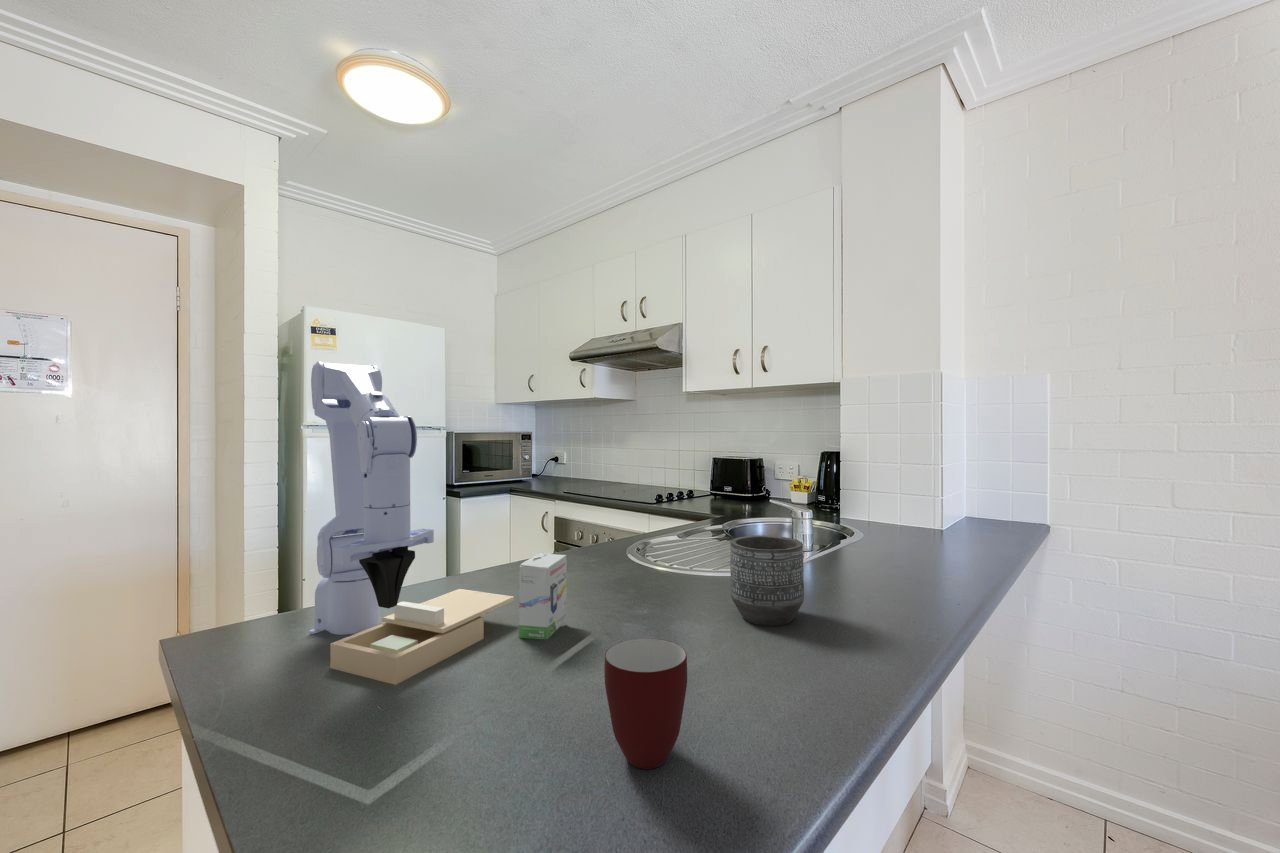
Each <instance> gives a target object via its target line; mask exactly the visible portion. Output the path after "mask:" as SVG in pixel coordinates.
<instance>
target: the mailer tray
mask: <svg viewBox="0 0 1280 853" xmlns="http://www.w3.org/2000/svg"><path fill="white" fill-rule="evenodd" d="M484 627H485V626H484V616H479V617H477V618H475V619H473V620H470V621H468V622H466V623H464V624H462V625H460V626H457V627H455V628H453V629H451V630H449V631H447V632H445V633H438V632H433V631H428V630H423V629H417V628H412V627H407V626H402V625H397V624H392V623H386V622H383V623H379V624H378V625H377V626H374V627H372V628H369V629H367V630H364V631H361V632H359V633H354V634H350V635H349V636H346V637H344V638H341V639H338V640H336V641H334V642H331V643H330V644H329V645H330V650H329V651H330V655H329V656H330V658H329V659H330V666H329V667H330V669H333V670H336V671H341V672H343V673H349V674H352V675H355V676H360V677H364V678H368V679H371V680H375V681H379V682H383V683H387V684H391V685H395V686H397V685H399V684H400V683H402V682H404V681H407V680H408V679H410V678H411V677H412V678H413V677H414V676H417V674H419V673H422V672H423V671H425V670H426V669H429V668H431V667H433V666H435V665H436V664H439V663H440V662H442V661H444V660H446V659H447V658H450V657H451V656H453V655H456V654H457V653H459V652H461V651H463V650H465V649H466V648H468V647H471V646H472V645H474V644H476V643H478V642H480V641H482V640H484V637H485V636H484V635H485V634H484ZM390 635H395V636H399V637H404V638H409V639H414V640H418V644H417V645H415V646H413V647H411V648H409V649H406V650H404V651H402V652H400V653H398V654H394V653H389V652H385V651H380V650H376V649H371V648H370V644H371V643H374V642H376V641H379V640H381V639H383V638H386V637H388V636H390Z"/></svg>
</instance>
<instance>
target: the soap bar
mask: <svg viewBox="0 0 1280 853" xmlns="http://www.w3.org/2000/svg"><path fill="white" fill-rule="evenodd" d="M417 644H418V640H414V639H409V638H404V637H399V636H395V635H390V636H388V637H386V638H383V639H381V640H379V641H376V642H374V643H371V644H370V648H371V649H376V650H380V651H385V652H389V653H394V654H398V653H400V652H402V651H404V650H406V649H409V648H411V647H413V646H415V645H417Z"/></svg>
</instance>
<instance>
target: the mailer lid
mask: <svg viewBox="0 0 1280 853" xmlns="http://www.w3.org/2000/svg"><path fill="white" fill-rule="evenodd" d="M513 601H515V596H512V595H507V594H500V593H499V594H498V593H491V592H485V591H479V590H470V589H463V588H457V589H454V590H452V591H450V592H447V593H444V594H442V595H439V596H436V597H433V598H432V599H428V600H426V601H423V602H420V603H416V602H410V601H400V602H398V603H397V606H394V607H393V610H394V611H393V613H391V614H389V615H386V616H384V617H382V622H383V623H385V622H386V623H392V624H397V625H402V626H407V627H412V628H417V629H423V630H428V631H433V632H438V633H445V632H447V631H449V630H451V629H453V628H455V627H457V626H460V625H462V624H464V623H466V622H468V621H470V620H473V619H475V618H477V617H479V616H480V617H482V616H483V615H485V614H487V613H490V612H492V611H494V610H496V609H498V608H500V607H502V606H505V605H507V604H509V603H511V602H513Z"/></svg>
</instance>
